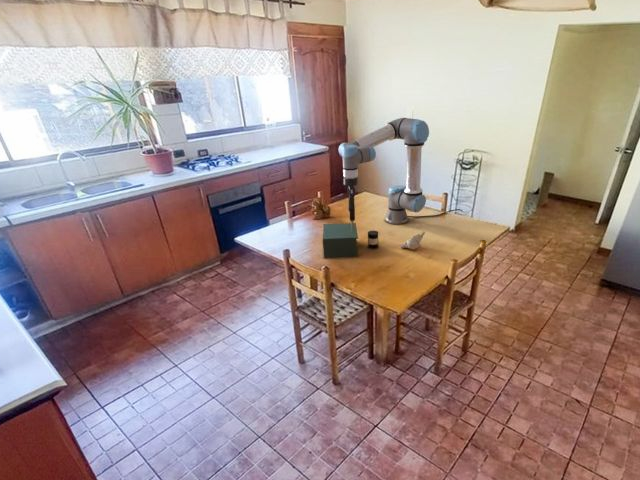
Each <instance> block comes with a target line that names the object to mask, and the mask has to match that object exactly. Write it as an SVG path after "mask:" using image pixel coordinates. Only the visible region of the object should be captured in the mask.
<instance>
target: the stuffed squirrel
mask: <svg viewBox="0 0 640 480" xmlns="http://www.w3.org/2000/svg"><path fill="white" fill-rule="evenodd" d="M331 211H332V210H331V207H330V206H329V204H328V203H323V204H322V199H321V197H318V198H315V199H313V200H312V206H311V210H310V212H311V213H312V214H313V213H314V216H313V217H312V219H313V220H321V219H327V218H329V217H330V216H331V215H332V213H331Z"/></svg>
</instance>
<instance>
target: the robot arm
mask: <svg viewBox="0 0 640 480" xmlns="http://www.w3.org/2000/svg"><path fill="white" fill-rule="evenodd" d="M429 135H430V129H429V125H428V123H426V121H424V120H422V119H418V118H411V117H410V118H409V117H399V118H396V119H394V120H391V121H389V122H387V123H385V124H383V126H382V127H381V128H378V129H376V130H374V131H372V132H370V133H368V134H366V135H364V136H361V137H359V138H357V139H355V140H353V141H350V142H342V143H340V145H338V154H339V156H340V157H341V158H342V171H341V172H342V173H343V185H344V186H346V191H347V196H348V198H347V199H348V201H347V202H348V212H349V221H350V222H351V220H354V221H356V206H355V205H356V204H355V195H356V193H355V192H356V188H355V187H356V186H358V184H359V178H358V176H359V172H358V171H359V169H358V168H359V166H358V165H360V164H366V163H370V162H372V161H375V159H376V157H377V153H376V149H375V147H377V146H379V145H381V144H383V143H385V142H387V141H393V140H403V142H404V147H405V148H406V183H405V185H394V186H390V187H389V189H388V196H387V198H388V202H387V203H388V205H387V206H388V207H387V212H386V215H385V219H384V220H385V222H386V223H388V224H390V225H404V224H406V223H407V222H408V220H409V218H415V219H416V218H418V219H419V218H430V217H438V216H442V215H444V214H447V213H450V212H456V211H460V212H464V211H463V210H462V209H461V208H455V209H451V210H447V211H444V212H441V213H438V214H435V215H433V214H432V215H419V216H418V215H417V216H414V215H413V216H412V215H408V213H407V211H409V212H411V213H420V212H421V211H422V210H423V209H424V207H425V206H426V203H427V197H426V196H425V194H423V188H422V187H421V175H422V172H421V171H422V148H423V147H424V146H425V143H426V142H427V141H428V138H429ZM446 212H447V213H446Z"/></svg>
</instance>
